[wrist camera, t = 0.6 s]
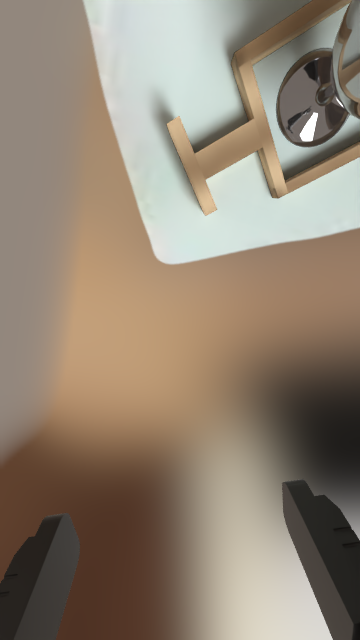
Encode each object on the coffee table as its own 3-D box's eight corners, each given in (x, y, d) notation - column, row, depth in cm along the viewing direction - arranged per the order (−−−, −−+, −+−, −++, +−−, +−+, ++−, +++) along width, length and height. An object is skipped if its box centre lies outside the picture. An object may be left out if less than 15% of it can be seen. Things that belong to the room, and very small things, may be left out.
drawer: (159, 110, 24) (154, 96, 21) (375, -32, 20) (416, -81, 16) (210, 229, 29) (213, 235, 25) (393, 135, 24) (428, 126, 21)
